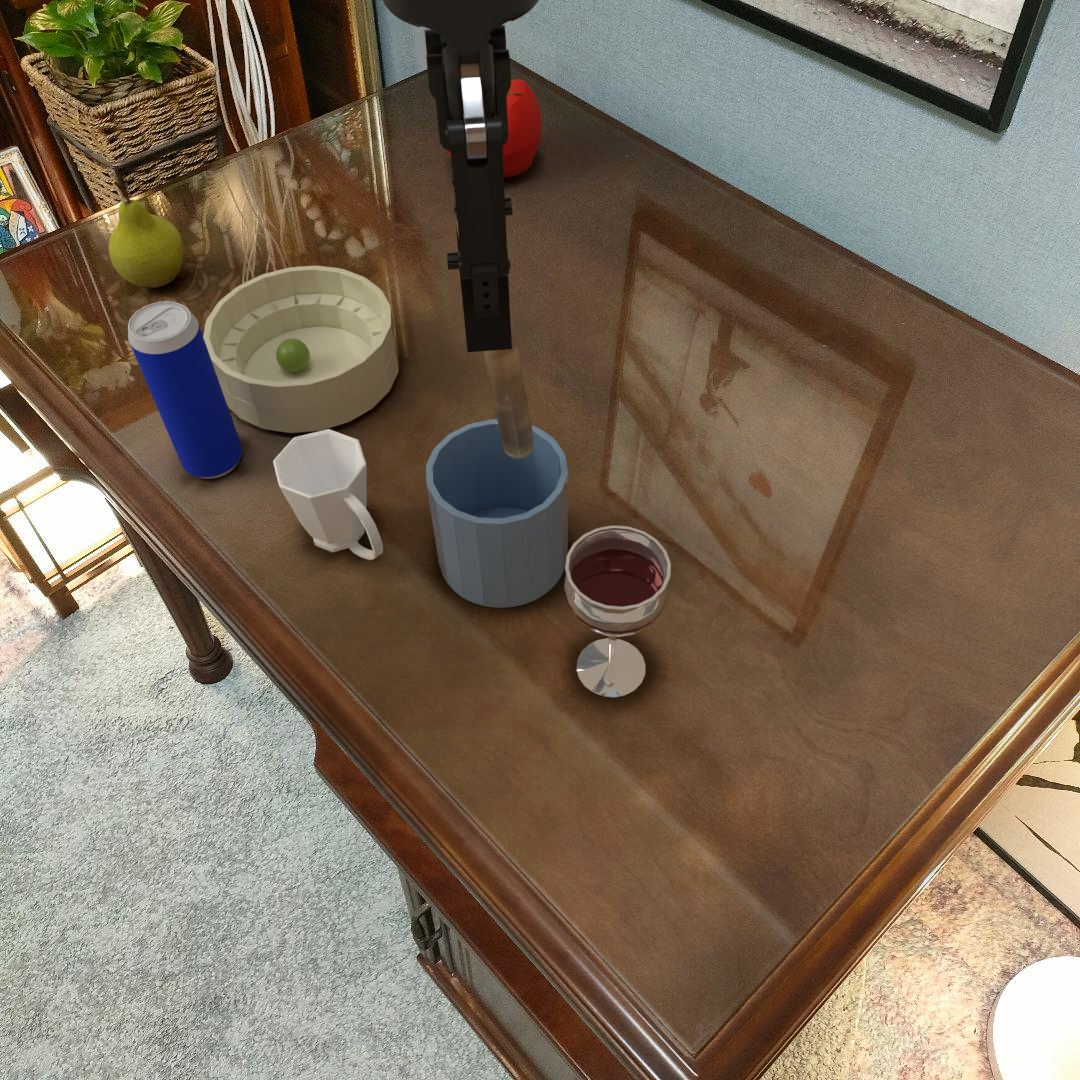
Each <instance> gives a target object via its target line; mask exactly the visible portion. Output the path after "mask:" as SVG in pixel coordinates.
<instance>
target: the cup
mask: <svg viewBox="0 0 1080 1080" xmlns="http://www.w3.org/2000/svg"><path fill="white" fill-rule="evenodd" d="M272 463H273V467H274V471H275V476H276V479H277V483H278V488H279V489H280V490H281V492H282V494H283V496H284V497H285V499H286V501H287V502H288V504H289V505H290V508H291V509H292V511H293V513H294V514H295V517H296V518H297V520H298V523H299V524H300V525H301V526H302V527H303V528H304V530H305V531H306V532H307V533H308V535H309V536H310V537H311V538H312V539H313V544H314V546H316V547H318V548H320V549H323V550H326V551H328V552H330V553H336V552H340V551H343V550H346V549H349V550H350V551H351V552H352V554H354V555H356V556H358V557H360V558H362V559H365V560H368V561H373V560H374V559H376V558H378V557H379V556H381V555H382V554H384V545H383V542H382V541H383V540H382V538H381V534H380V532H379V530H378V527H377V524H376V522H375V521H374V519H373V517H372V516H371V513H370V512H369V511H368V510H367V509H368V508H367V503H368V502H367V501H368V500H367V461H366V459H365V456H364V453H363V449H362V446H361V444H360V440H359V439H358V438H354V437H352V436H349V435H346V434H343V433H341V432H338V431H335V430H333V429H331V428H328V429H324V430H320V431H314V432H311V433H307V434H303V435H298V436H294V437H293V438H292V439H291V440H290V441H289V442H288V443H287V444H286V445H285V446H284V448H283V449H282V450H281V451H280V452H279V453H278V454H277V455H276V457H275V458H274V459H273V460H272ZM365 533H366V534H367V537H368V540H369V542H370V546H371V549H368V548H366V547H365V546H362V545H361V544H360V543H359V540H360V539H361V538H362V536H363V535H364V534H365Z"/></svg>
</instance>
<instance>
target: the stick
mask: <svg viewBox="0 0 1080 1080" xmlns="http://www.w3.org/2000/svg"><path fill="white" fill-rule="evenodd" d="M456 224H457V232H458V223H457V222H456ZM458 236H459V233H458ZM510 319H511V338H512V349H506V350H493V351H482V354H483V355H482V356H483V360H484V364H485V369H486V373H487V378H488V383H489V386H490V392H491V397H492V402H493V406H494V411H495V416H496V419H497V421H498V426H499V431H500V435H501V440H502V445H503V448H504V451H505V452H506V454H507V455H509V456H510V457H512V458H515V459H522V458H525V457H527V456H528V455H529V454H530V453H531V452H532V450H533V448H534V437H533V431H532V426H533V425H532V420H531V415H530V409H529V403H528V397H527V392H526V386H525V380H524V375H523V369H522V364H521V358H520V357H521V356H520V351H519V346H518V341H517V335H516V329H515V324H514V318H513V312H512V306H511V305H510ZM531 425H532V426H531Z"/></svg>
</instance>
